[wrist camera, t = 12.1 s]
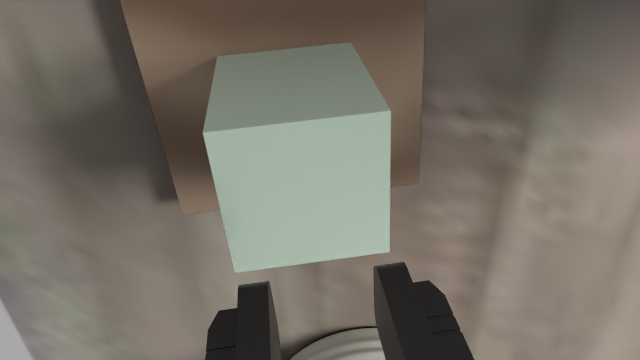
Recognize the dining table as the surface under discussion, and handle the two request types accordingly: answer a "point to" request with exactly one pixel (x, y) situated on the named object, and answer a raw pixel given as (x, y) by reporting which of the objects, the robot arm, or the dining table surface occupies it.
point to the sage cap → (299, 156)
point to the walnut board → (266, 35)
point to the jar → (345, 347)
